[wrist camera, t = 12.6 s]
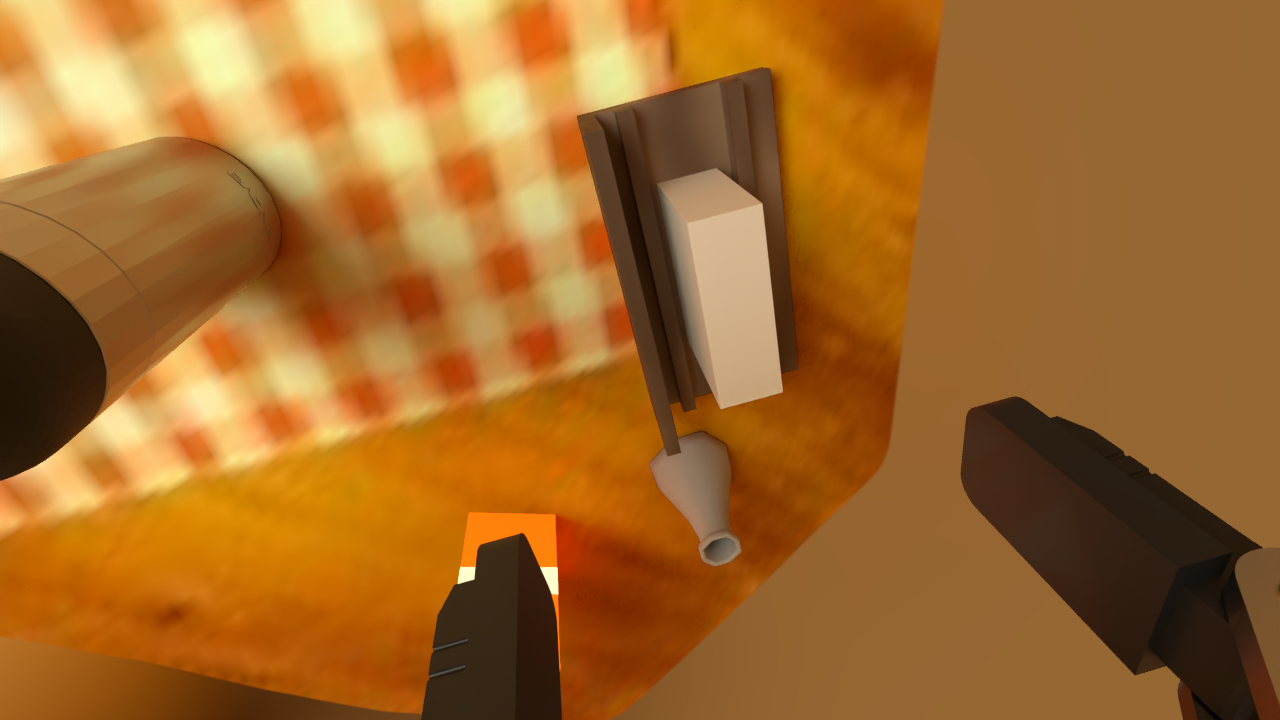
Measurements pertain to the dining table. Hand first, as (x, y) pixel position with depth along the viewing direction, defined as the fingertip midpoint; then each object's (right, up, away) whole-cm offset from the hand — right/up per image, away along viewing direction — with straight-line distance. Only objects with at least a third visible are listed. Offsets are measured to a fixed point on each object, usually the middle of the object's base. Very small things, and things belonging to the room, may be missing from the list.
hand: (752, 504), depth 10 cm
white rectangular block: (+2, +9, +30) cm, 32 cm away
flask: (+3, -7, +41) cm, 42 cm away
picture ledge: (+2, +10, +31) cm, 33 cm away
